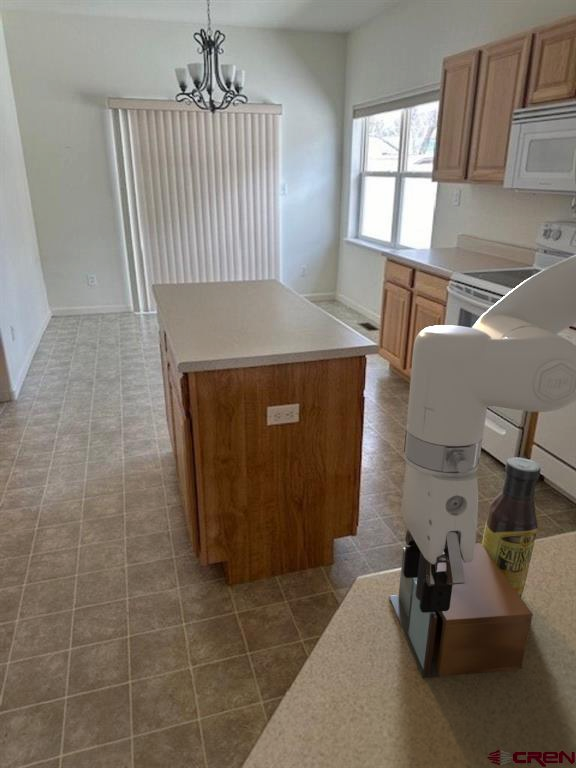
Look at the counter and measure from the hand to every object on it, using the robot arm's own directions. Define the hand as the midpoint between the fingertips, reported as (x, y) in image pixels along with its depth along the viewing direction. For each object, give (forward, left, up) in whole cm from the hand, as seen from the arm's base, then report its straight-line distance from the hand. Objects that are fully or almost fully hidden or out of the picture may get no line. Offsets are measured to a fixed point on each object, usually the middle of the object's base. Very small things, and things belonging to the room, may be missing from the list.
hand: (425, 590), depth 61 cm
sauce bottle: (-15, -9, -9) cm, 20 cm away
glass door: (0, 0, -9) cm, 9 cm away
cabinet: (-6, -3, -9) cm, 12 cm away
